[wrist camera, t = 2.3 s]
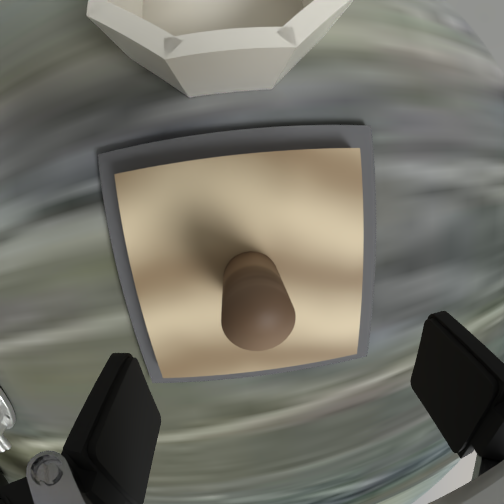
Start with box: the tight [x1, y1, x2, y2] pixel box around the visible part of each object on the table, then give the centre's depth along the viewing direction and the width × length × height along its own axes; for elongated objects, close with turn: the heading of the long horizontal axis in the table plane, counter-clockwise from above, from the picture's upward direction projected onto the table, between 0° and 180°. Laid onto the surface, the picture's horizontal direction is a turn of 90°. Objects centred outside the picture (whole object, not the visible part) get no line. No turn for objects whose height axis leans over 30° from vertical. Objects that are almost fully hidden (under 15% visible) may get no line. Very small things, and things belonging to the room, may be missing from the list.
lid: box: [114, 148, 364, 378], centre depth 15 cm, size 14×14×6 cm
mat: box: [98, 125, 376, 383], centre depth 19 cm, size 17×17×1 cm
